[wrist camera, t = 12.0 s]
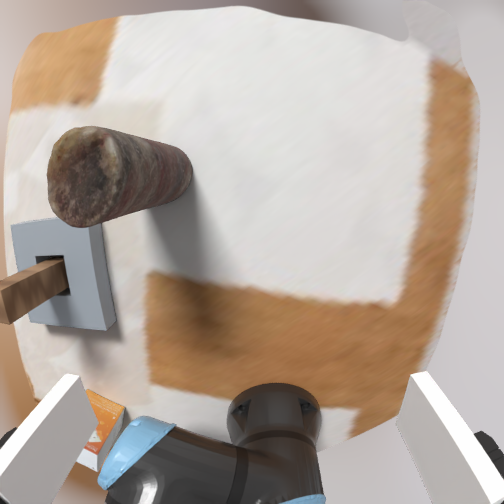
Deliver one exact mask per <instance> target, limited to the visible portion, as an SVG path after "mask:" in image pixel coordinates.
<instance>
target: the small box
mask: <svg viewBox="0 0 504 504" xmlns="http://www.w3.org/2000/svg"><path fill="white" fill-rule="evenodd" d="M86 394H87V396H88V399H89V401H90V404H91V406H92V408H93V411H94V413H95V415H96V418H97V420H98V422H99V424H98V425H97V427H96V429H95V430H94V432H93V434H92V435H91V437H90V439H89V440H88V442H87V444H86V445H85V447H84V449H83V450H82V452H81V454H80V455H79V457H78V459H77V460H76V461H77V462H78V463H81V464H83V465H85V466H87V467H89V468H91V469H93V470H95V471H97V472H98V471H99V469H100V467H101V465H102V463H103V462H104V460H105V458H106V456H107V454H108V452H109V450H110V448H111V446H112V445H113V443H114V441H115V439H116V437H117V435H118V433H119V431H120V429H121V427H122V423H123V416H124V410H125V407H123V406H121V405H119V404H116V403H114V402H112V401H110V400H108V399H106V398H104V397H102V396H100V395H98V394H96V393H94V392H92V391H91V390H89V389H87V390H86Z"/></svg>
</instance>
